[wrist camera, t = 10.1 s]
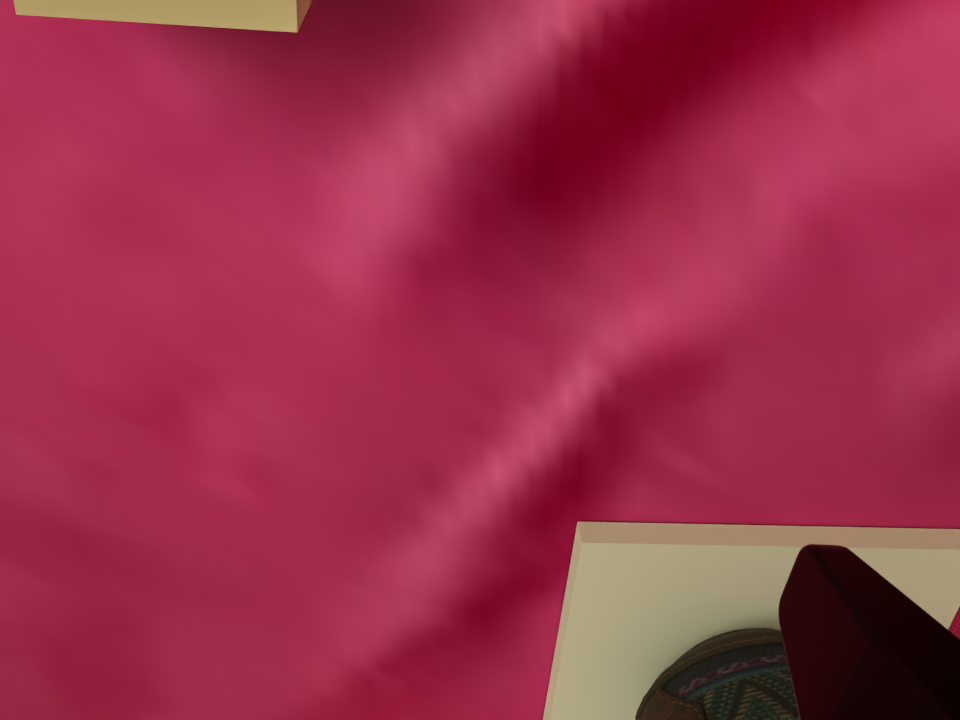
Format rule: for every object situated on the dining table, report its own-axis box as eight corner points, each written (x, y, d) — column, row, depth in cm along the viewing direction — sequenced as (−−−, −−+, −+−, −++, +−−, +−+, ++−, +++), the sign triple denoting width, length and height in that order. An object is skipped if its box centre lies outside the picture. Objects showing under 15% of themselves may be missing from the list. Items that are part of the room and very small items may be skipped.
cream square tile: (855, 771, 31) (865, 794, 30) (533, 773, 30) (535, 796, 30) (972, 529, 25) (987, 550, 25) (577, 521, 24) (582, 542, 24)
